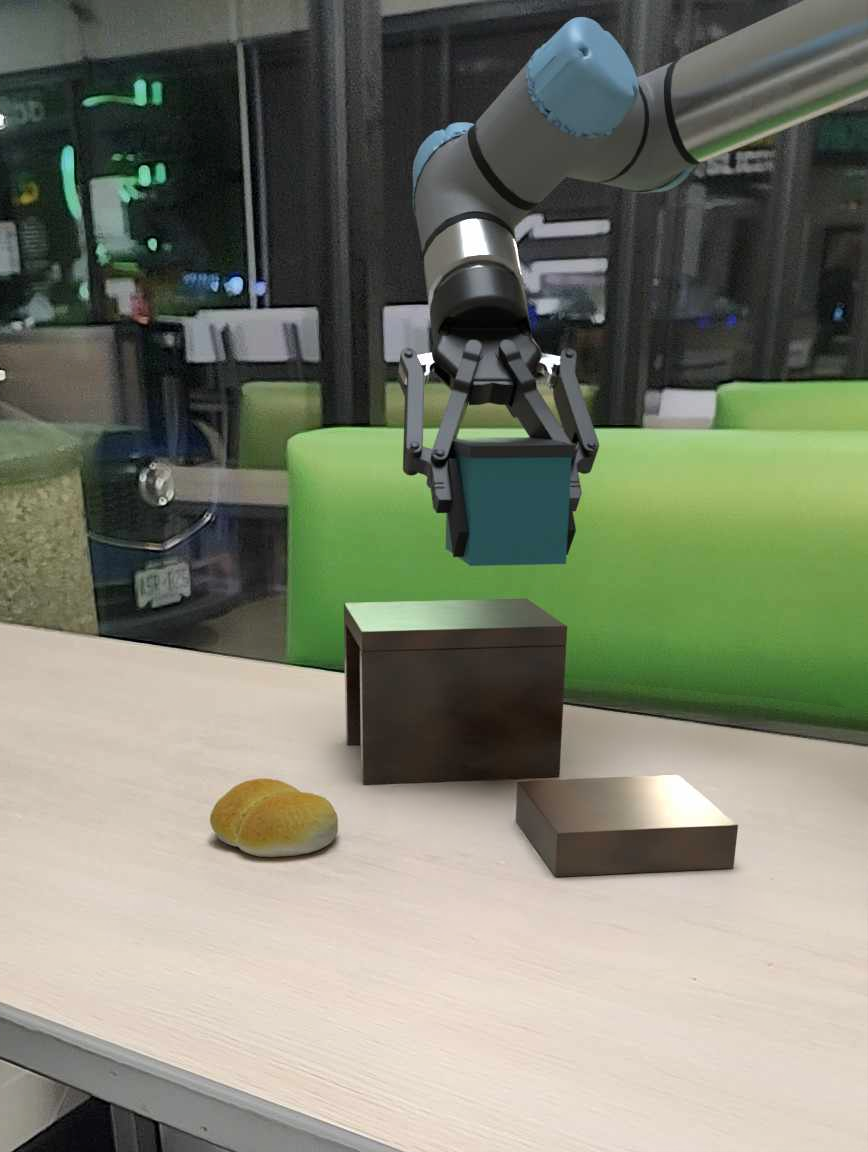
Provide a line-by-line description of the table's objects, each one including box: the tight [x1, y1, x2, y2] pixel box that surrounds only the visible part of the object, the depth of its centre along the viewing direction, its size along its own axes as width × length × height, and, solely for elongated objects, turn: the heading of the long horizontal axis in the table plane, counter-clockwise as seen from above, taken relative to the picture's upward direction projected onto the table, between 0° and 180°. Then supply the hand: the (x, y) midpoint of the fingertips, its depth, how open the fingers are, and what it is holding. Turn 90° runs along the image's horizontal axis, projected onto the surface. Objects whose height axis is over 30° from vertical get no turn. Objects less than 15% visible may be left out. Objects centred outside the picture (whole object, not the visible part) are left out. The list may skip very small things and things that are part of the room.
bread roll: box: [209, 778, 339, 858], centre depth 92 cm, size 8×9×4 cm
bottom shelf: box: [515, 774, 739, 878], centre depth 91 cm, size 12×12×3 cm
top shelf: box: [343, 598, 568, 785], centre depth 110 cm, size 16×14×12 cm
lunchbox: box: [445, 436, 576, 567], centre depth 97 cm, size 7×10×8 cm
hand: (514, 543), depth 95 cm, fingers closed on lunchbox, 7 cm apart
